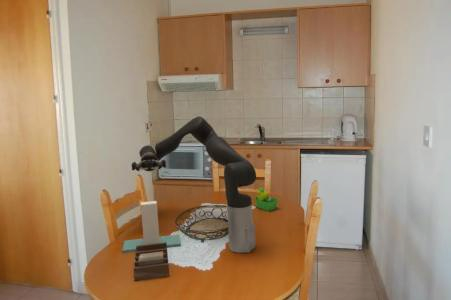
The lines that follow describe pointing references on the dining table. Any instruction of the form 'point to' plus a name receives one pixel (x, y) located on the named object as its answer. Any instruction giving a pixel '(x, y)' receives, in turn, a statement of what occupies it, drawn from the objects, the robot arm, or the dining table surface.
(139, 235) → the dining table surface
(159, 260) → the offcut tall
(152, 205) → the beige tall block
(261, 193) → the fruit basket
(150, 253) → the offcut short
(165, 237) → the board
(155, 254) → the offcut mid
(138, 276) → the rack
